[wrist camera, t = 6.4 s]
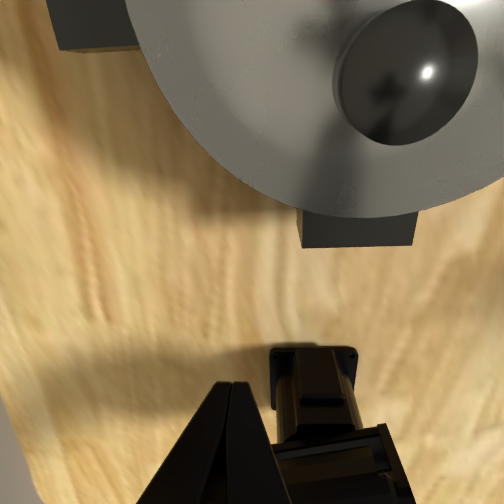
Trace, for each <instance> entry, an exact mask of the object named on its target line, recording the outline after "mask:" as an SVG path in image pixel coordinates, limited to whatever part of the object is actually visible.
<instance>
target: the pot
mask: <svg viewBox="0 0 504 504" xmlns="http://www.w3.org/2000/svg"><path fill="white" fill-rule="evenodd" d="M46 3H47V7H48V10H49V14H50V18H51V21H52V25H53V29H54V32H55V36H56V40H57V43H58V47H59V50H61V51H69V52H76V53H98V52H114V51H130V50H141V48H140V45H139V42H138V39H137V37H136V34H135V31H134V28H133V25H132V22H131V20H130V17H129V14H128V10H127V6H126V2H125V0H46ZM418 212H419V211H417V212H412V213H407V214H402V215H397V216H386V217H375V218H349V217H337V216H330V215H323V214H317V213H313V212H309V211H306V210H302V209H299V208H297V228H298V232H299V237H300V242H301V246H302V248H338V247H375V246H412V243H413V238H414V233H415V227H416V222H417V217H418Z"/></svg>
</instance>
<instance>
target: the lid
mask: <svg viewBox="0 0 504 504" xmlns="http://www.w3.org/2000/svg"><path fill="white" fill-rule="evenodd" d="M125 2H126V6H127V10H128V14H129V17H130V20H131V22H132V25H133V28H134V31H135V34H136V37H137V39H138V42H139V45H140V48H141V51H142V53H143V55H144V57H145V60H146V62H147V64H148V66H149V68H150V70H151V72H152V74H153V76H154V78H155V81H156V83H157V85H158V87H159V89H160V90H161V92H162V93H163V95H164V97H165V98H166V100H167V101H168V103H169V105H170V106H171V108H172V109H173V111H174V113H175V114H176V116H177V117H178V119H179V120H180V121H181V122H182V124H183V125H184V126H185V128H186V129H187V130H188V131H189V133H190V134H191V135H192V136H193V138H194V139H195V140H196V141H197V143H198V144H199V145H200V146H201V147H202V148H203V149H204V150H205V151H206V152H207V153H208V154H209V155H210V156H211V157H212V158H213V159H214V160H215V161H216V162H217V163H218V164H220V165H221V166H222V167H224V168H225V169H226V170H227V171H229V172H230V173H231V174H233V175H234V176H235V177H236V178H238V179H239V180H240V181H242V182H243V183H245V184H247V185H248V186H250V187H252V188H254V189H255V190H257V191H259V192H260V193H262V194H264V195H265V196H268V197H270V198H272V199H275V200H277V201H279V202H282V203H284V204H286V205H289V206H292V207H295V208H299V209H302V210H306V211H309V212H313V213H317V214H323V215H330V216H337V217H349V218H375V217H386V216H397V215H402V214H407V213H412V212H417V211H421V210H426V209H429V208H432V207H435V206H438V205H442V204H445V203H448V202H451V201H454V200H456V199H459V198H461V197H463V196H466V195H468V194H470V193H473V192H475V191H477V190H479V189H482V188H484V187H486V186H488V185H489V184H491V183H493V182H495V181H497V180H498V179H500V178H502V177H504V0H125Z"/></svg>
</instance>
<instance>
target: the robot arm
mask: <svg viewBox="0 0 504 504" xmlns="http://www.w3.org/2000/svg"><path fill="white" fill-rule="evenodd" d="M276 354H277V356H275V355H276ZM349 354H352V355H349ZM269 360H270V389H271V408H272V409H273V410H275V411H276V417H277V443H276V444H270V441H269V438H268V435H267V432H266V430H265V427H264V424H263V421H262V418H261V415H260V413H259V410H258V407H257V404H256V401H255V398H254V396H253V393H252V390H251V387H250V384H249V383H248V382H247V381H234V382H233V383H232V382H230V381H218V382H216V383H215V384H214V385H213V387H212V388H211V390H210V391H209V393H208V394H207V396H206V397H205V399H204V400H203V402H202V403H201V405H200V407H199V408H198V410H197V411H196V413H195V414H194V416H193V417H192V419H191V420H190V422H189V423H188V425H187V426H186V428H185V429H184V431H183V433H182V434H181V436H180V437H179V439H178V440H177V442H176V443H175V445H174V446H173V448H172V449H171V451H170V452H169V454H168V455H167V457H166V459H165V460H164V462H163V463H162V465H161V466H160V468H159V469H158V471H157V472H156V474H155V475H154V477H153V478H152V480H151V481H150V483H149V485H148V486H147V488H146V489H145V491H144V492H143V494H142V495H141V497H140V498H139V500H138V501H137V503H136V504H416V502H415V499H414V496H413V493H412V490H411V488H410V485H409V482H408V479H407V477H406V474H405V472H404V469H403V466H402V464H401V461H400V459H399V456H398V453H397V451H396V448H395V446H394V443H393V440H392V438H391V435H390V433H389V430H388V427H387V425H386V423H383V424H377V426H375V427H370V428H363V424H362V421H361V417H360V414H359V410H358V406H357V403H356V399H355V396H354V385H355V378H356V370H357V363H358V353H357V350H356V349H355V348H352V347H330V348H273V349H271V350H270V353H269Z"/></svg>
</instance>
